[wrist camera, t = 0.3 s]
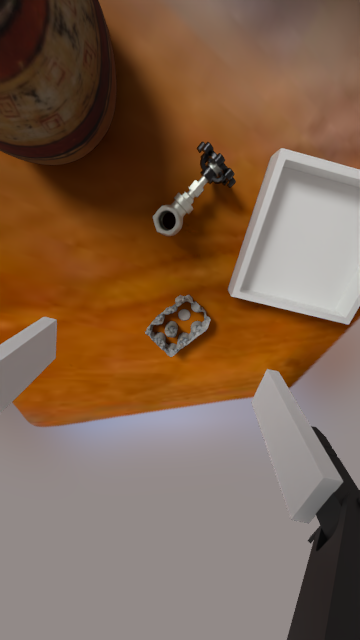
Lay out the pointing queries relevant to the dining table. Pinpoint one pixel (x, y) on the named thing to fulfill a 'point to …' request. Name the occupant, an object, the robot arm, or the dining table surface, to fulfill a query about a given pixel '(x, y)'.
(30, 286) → the dining table surface
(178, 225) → the valve
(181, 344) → the grey open frame part
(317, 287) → the tray
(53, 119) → the brown vase
